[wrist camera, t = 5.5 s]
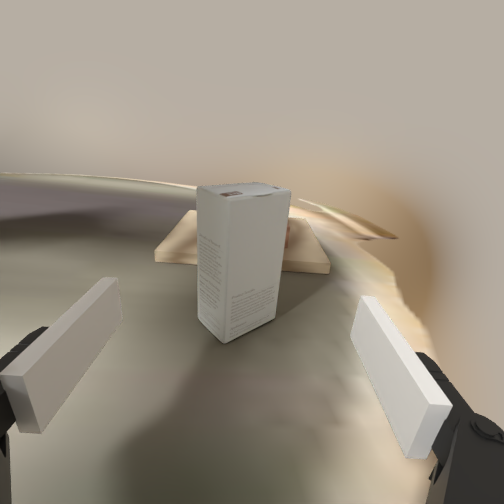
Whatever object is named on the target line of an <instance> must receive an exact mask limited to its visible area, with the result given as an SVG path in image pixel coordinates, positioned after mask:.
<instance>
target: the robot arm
mask: <svg viewBox="0 0 504 504" xmlns="http://www.w3.org/2000/svg"><path fill="white" fill-rule="evenodd" d="M122 321H123V316H122V308H121V300H120V292H119V284H118V278H113V277H103V278H102V279H100V280H99V281H98V282H97V283H96V284H95V285H94V286H93V287H92V288H91V289H90V290H89V291H88V292H86V293H85V294H84V295H83V296H82V297H81V298H80V299H79V300H78V301H77V302H76V303H75V304H74V305H72V306H71V307H70V308H69V309H68V310H67V311H66V312H65V313H64V314H63V315H62V316H61V317H60V318H58V319H57V320H56V321H55V322H54V323H53V324H52V325H51V326H50V327H41V328H39V329H37V330H35V331H33V332H32V333H30V334H28V335H27V336H26V337H25V338H24V339H23V340H21V341H20V342H19V344H18V345H16V346H15V347H14V348H12V349H11V350H10V352H8V353H7V354H6V355H4V356H3V357H2V358H1V359H0V504H12V502H11V475H10V449H9V436H8V434H7V431H8V429H9V428H10V427H11V426H12V425H13V424H14V422H15V421H16V424H17V426H18V429H19V432H21V433H36V434H42V432H43V431H44V429H45V428H46V427H47V425H48V424H49V422H50V421H51V420H52V418H53V417H54V415H55V414H56V413H57V411H58V410H59V409H60V407H61V406H62V404H63V403H64V402H65V400H66V399H67V397H68V396H69V395H70V393H71V392H72V390H73V389H74V388H75V386H76V385H77V384H78V382H79V381H80V379H81V378H82V377H83V375H84V374H85V372H86V371H87V370H88V368H89V367H90V365H91V364H92V363H93V361H94V360H95V359H96V357H97V356H98V354H99V353H100V352H101V350H102V349H103V347H104V346H105V345H106V343H107V342H108V340H109V339H110V338H111V336H112V335H113V334H114V332H115V331H116V329H117V328H118V327H119V325H120V324H121V322H122ZM350 337H351V340H352V342H353V344H354V346H355V348H356V351H357V353H358V355H359V357H360V359H361V362H362V364H363V366H364V368H365V370H366V373H367V375H368V377H369V379H370V381H371V383H372V386H373V388H374V390H375V392H376V394H377V397H378V399H379V401H380V403H381V405H382V408H383V410H384V412H385V414H386V416H387V419H388V421H389V423H390V425H391V427H392V430H393V432H394V434H395V436H396V438H397V441H398V443H399V445H400V447H401V449H402V451H403V454H404V456H405V458H413V459H427V457H428V455H429V453H430V451H431V449H433V451H434V453H435V455H436V457H437V458H438V461H437V463H436V465H435V467H434V469H433V471H432V473H431V475H430V477H429V480H431V485H430V489H429V493H428V497H427V501H426V504H504V431H503V430H502V429H501V428H500V427H499V426H497V425H496V424H495V423H494V422H492V421H491V420H489V419H488V418H486V417H484V416H482V415H479V414H477V413H474V412H473V410H472V409H471V408H470V407H469V405H468V404H467V403H466V402H465V400H464V399H463V398H462V396H461V395H460V394H459V393H458V391H457V390H456V389H455V387H454V386H453V385H452V383H451V382H449V380H448V378H447V377H446V376H445V374H443V373H442V371H441V369H440V368H439V367H438V365H437V364H436V363H435V362H434V361H433V360H432V359H431V358H429V357H428V356H427V355H426V354H424V353H421V352H414V351H413V349H412V348H411V347H410V345H409V344H408V342H407V341H406V340H405V338H404V337H403V335H402V334H401V333H400V331H399V330H398V328H397V327H396V326H395V324H394V323H393V321H392V320H391V319H390V317H389V316H388V314H387V313H386V312H385V310H384V309H383V308H382V306H381V305H380V303H379V302H378V301H377V299H376V298H375V297H374V296H360V300H359V304H358V308H357V311H356V315H355V319H354V323H353V327H352V331H351V335H350Z"/></svg>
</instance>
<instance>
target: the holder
mask: <svg viewBox="0 0 504 504" xmlns="http://www.w3.org/2000/svg"><path fill="white" fill-rule="evenodd" d="M154 252H155V262H167V263H181V264H194V265H197V211H194V210H189V212H188V213H187V214H186V215H185V216H184V217H183V218H182V220H181V221H180V222H179V223H178V224H177V225H176V226H175V228H174V229H173V230H172V231H171V232H170V233H169V234H168V236H167V237H166V238H165V239H164V240H163V241H162V243H161V244H160V245H159V246H158V247H157V248H156V249H155V251H154ZM330 266H331V263H330V261H329V259H328V257H327V256H326V254H325V252H324V250H323V249H322V247H321V245H320V243H319V242H318V240H317V238H316V237H315V235H314V233H313V231H312V230H311V228H310V226H309V224H308V223H307V221H306V219H302V218H288V222H287V230H286V238H285V245H284V253H283V261H282V268H281V271H292V272H306V273H320V274H329V271H330Z"/></svg>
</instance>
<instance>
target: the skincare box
mask: <svg viewBox="0 0 504 504" xmlns="http://www.w3.org/2000/svg"><path fill="white" fill-rule="evenodd" d="M290 199H291V191H290V190H288V189H285V188H282V187H277V186H273V185H268V184H264V183H258V182H252V183H238V184H226V185H212V186H198V187H197V286H198V319H199V320H200V322H201V323H202V324H203V325H204V326H205V327H206V328H207V329H208V330H209V331H210V332H211V333H212V334H213V335H214V336H215V337H216V338H218V339H219V340H220V341H221V342H222V343H227V342H229V341H231V340H233V339H235V338H237V337H239V336H241V335H243V334H245V333H247V332H249V331H251V330H253V329H255V328H257V327H259V326H261V325H262V324H264V323H266V322H268V321H270V320H272V319H274V318H275V315H276V307H277V300H278V292H279V284H280V276H281V268H282V261H283V253H284V245H285V238H286V230H287V222H288V214H289V207H290Z"/></svg>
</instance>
